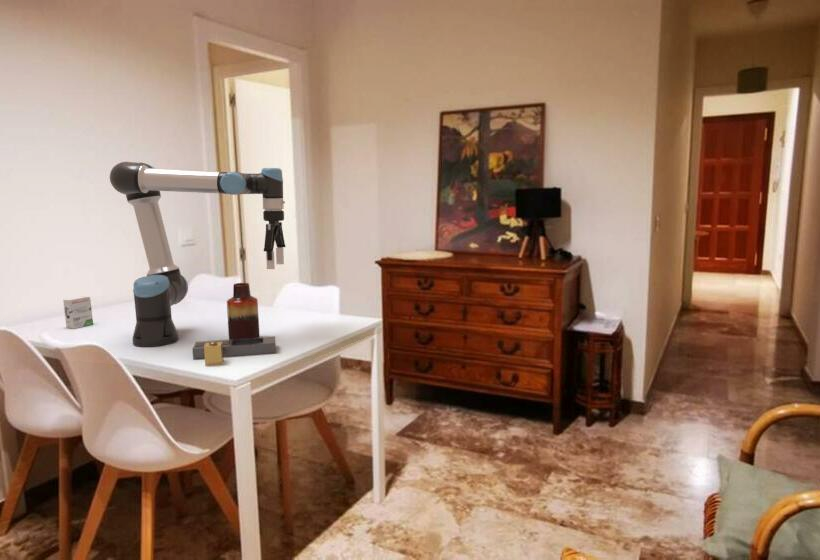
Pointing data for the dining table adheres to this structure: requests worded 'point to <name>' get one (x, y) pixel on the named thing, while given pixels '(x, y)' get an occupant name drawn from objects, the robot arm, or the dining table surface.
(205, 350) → the yellow small box
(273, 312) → the dining table surface
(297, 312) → the dining table surface
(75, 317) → the ink box
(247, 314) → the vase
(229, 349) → the rail
